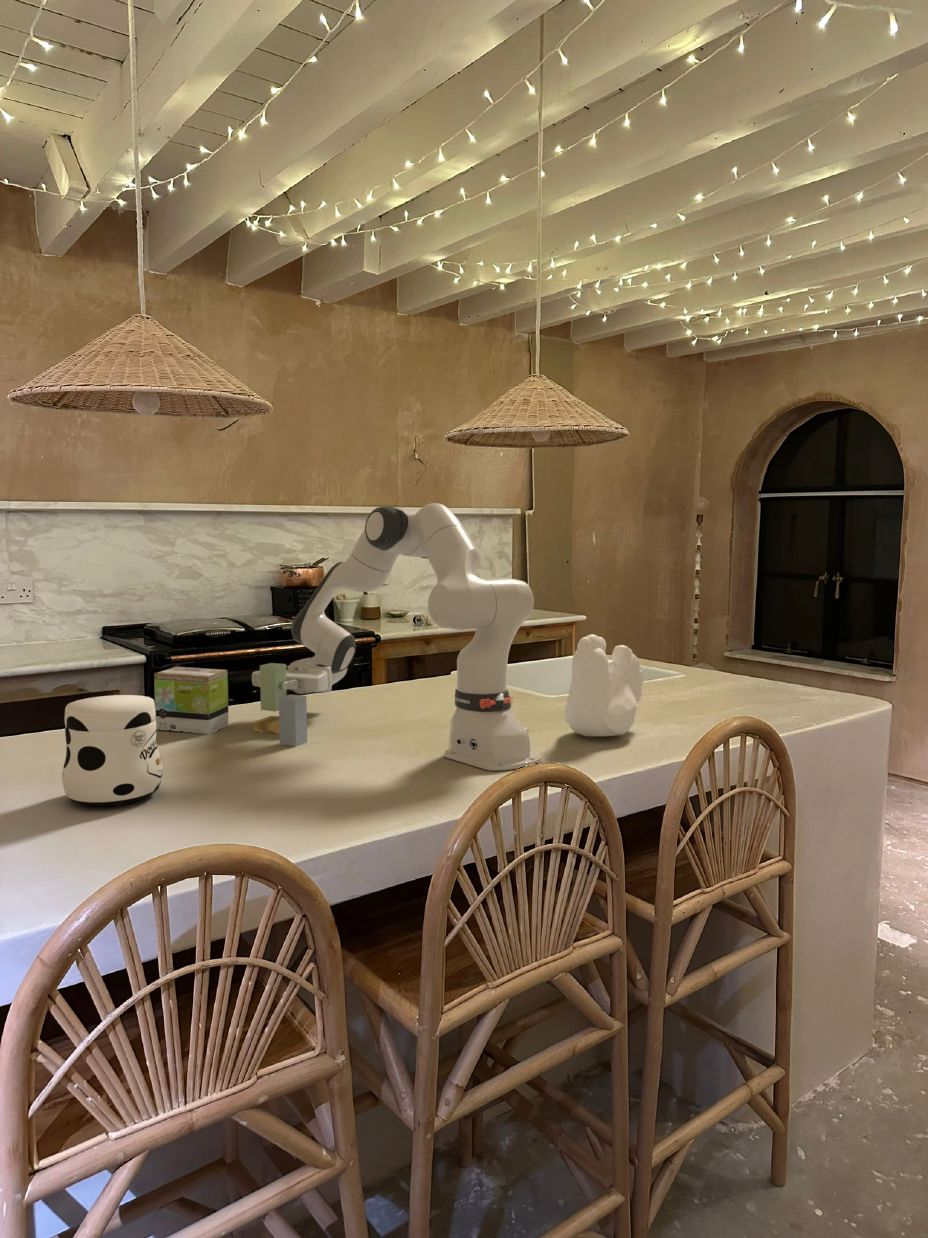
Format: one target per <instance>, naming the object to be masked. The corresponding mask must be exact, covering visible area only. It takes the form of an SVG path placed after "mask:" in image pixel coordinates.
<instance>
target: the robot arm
mask: <svg viewBox="0 0 928 1238" xmlns="http://www.w3.org/2000/svg"><path fill="white" fill-rule="evenodd" d="M365 521H366V522H365V526H364V529H363V530H362V532H361V533H360V536H359V537H358V539H357V541H356V543H355V545H354V547H353V549H352V551H351V553H350V555H349V557H348V558H347V559H346V560H344V561H338V562H337V563H335V564H334V565H333V566H332V567H331V568H329V570H328V571H327V573H325V575H324V577H323V578H322V580H321V581H320V583H319V584H318V586H317V587H316V588H315V590H314V592H313V593H312V595H311V596H310V598H309V599H308V600H307V602H306V604H305V605H304V607H303V608H302V609H301V610H300V611H299V612H298V614H296V615H295V617H294V618H293V620H292V622H291V625H290V626H291V627H290V629H291V636H292V639H293V641H294V642H297V643H298V644H300V645H302V646H303V647H305V648H307V649H309V650H310V651H311V652H313V653H314V655H313V656H312V657H306V658H302V659H298V660H294V661H292V662H291V663H290V664H289V665H288V667H287V668H286V682H280V683H279V689H280V690H290V691H291V690H292V691H293V692H294V693H296V694H297V695H305V694H308V693H309V694H311V693H324V692H325V693H328V692H331V691H332V686H333V685H334V684H336V683H338V682H339V681H340V680H342V678H344V677H345V676H346V674H347V671H348V667H349V666H350V665H351V663H352V661H353V660H354V658H355V655H356V653H357V651H356V649H357V647H356V646H357V645H356V644H357V643H356V638H355V636H354V635H353V634H351V633H350V632H349V631H348V630H346V629H344V628H343V627H342V626H340V625H339V624H337V623H335V622H334V621H333V620H331V618H328V617H327V615H326V614H325V613H326V612H325V610H326V608H327V607H328V605H329V604H330V603H331V601H332V600H333V598H334V597H335V595H336V593H337V592H338V591H339V590H340V589H343V590H349V591H354V592H361V593H367V592H372V591H376V590H378V589H380V588H381V587H382V586H383V585H384V584H385V582H387V580H388V578H389V576H390V574H391V572H392V569H393V567H394V565H395V562H396V560H397V558H398V556H399V555H402V556H407V557H414V558H422V559H427V560H428V562H429V564H430V566H431V567H432V569H433V571H434V573H435V576H436V581H437V582H436V584H435V586H433V588H432V589H431V591H430V593H429V595H428V600H427V610H428V614H429V616H430V618H431V620H432V621H433V623H434V624H435V625H436V626H437V627H439V628H442V629H449V630H456V631H462V630H463V631H464V630H465V631H466V630H473V629H474V630H475V629H476V630H475V634H474V635H473V638H472V639H471V641H470V642H469V643H468V644H467V645H466V646H465V647H464V648H462V649H461V650H460V652H459V653H458V655H457V659H456V688H455V691H454V706H455V707H456V709H455V711H454V714H453V716H452V717H451V719H450V727H449V736H448V737H449V738H448V739H449V741H448V749H447V750H445V751H444V754H443V755H444V756H443V757H444V758H445V759H450V760H452V761H453V760H454V761H457V762H460V763H462V764H463V763H464V764H466V765H470V766H474V767H477V768H479V769H484V770H486V771H509V770H516V769H521V768H520V767H522V766H526V765H531V764H534V763H538V764H540V763H541V762H542V757H541V756H540V755H538V754H536V753H535V752H534V751H532V750H531V740H530V735H529V729H528V728H527V727H526V726H524V725H523V724H522V723H521V721H520V720H519V718H518V716H517V715H516V714H515V713H514V712H513V710H512V703H514V701H513V699H514V697H513V696H510V693H509V689H507V683H508V682H507V681H508V680H507V679H508V678H507V677H508V658H509V653H510V649H511V645H512V643H513V642H514V641H513V640H514V638H515V636H516V635H517V632H518V631H519V629H520V627H522V625H523V624H524V623H525V622H527V620H528V619H529V618H530V616H531V615H532V612H533V610H534V605H535V598H534V597H535V596H534V594H533V591H532V589H531V587H530V585H528V583H527V582H525V581H524V580H520V579H515V578H512V577H484V578H483V577H478V576H477V575H475V574H476V572H477V571H478V569H479V567H480V564H481V553H480V550H479V548H478V547H477V546H476V544H475V542H474V541H473V539H472V537H471V536H470V534H469V532H468V531H467V530H466V528H465V527H464V525H463V523H462V522H461V521H460V520H459V518H458V517H457V516H456V515H455V513H454V512H452V511H451V510H450V509H449V508H448V507H447V506H445V505H444V504H442V503H438V502H431V503H428V504H425V505H424V506H422V507H421V508H420V509H419V510H418V511H415V510H411V509H406V508H397V507H393V506H378V507H376V508H374V509H373V510H371V512H370V513H369V515H368V517H367V519H366V520H365ZM251 682H252V683H251V684H252V686H254V687H259V688H260V670H256V671H253V672H252V673H251Z"/></svg>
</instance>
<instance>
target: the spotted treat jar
mask: <svg viewBox="0 0 928 1238" xmlns="http://www.w3.org/2000/svg"><path fill="white" fill-rule="evenodd" d="M155 716H156V711H155V699H153V698H151V696H145V695H135V694H121V695H120V694H113V695H104V696H102V695H101V696H93V697H88V698H87V697H86V698H84V699H77V700H75V701H72V702H69V703H67V705H66V706H65V708H64V725H65V728H64V734H65V743H66V745H65V747H66V748H65V749H66V752H65V753H66V755H65V759H64V763H63V766H62V767H63V768H62V771H61V772H62V773H61V774H62V775H61V779H62V787H63V790H64V793H65V795H66V797H68V799H69V800H70V801H72V802H74V803H76V804H79V805H82V806H83V805H84V806H94V807H95V806H96V807H100V806H102V807H103V806H108V807H109V806H116V805H123V804H127V803H132V802H137V801H140V800H142V799H144V798H145V799H146V798H147V797H149V796H151V795H152V794H154V793H155V792H157V790H159V788H160V786H161V785H162V782H163V781H162V780H163V773H164V770H163V769H164V767H163V761H162V758H161V754H160V751H159V748H158V744H157V743H158V741H157V730H156V718H155Z"/></svg>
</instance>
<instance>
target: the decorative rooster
mask: <svg viewBox="0 0 928 1238" xmlns="http://www.w3.org/2000/svg"><path fill="white" fill-rule="evenodd" d="M606 650H607V642H606V639H605V638H603V637H601V636H598V635H597V634H592V633H591V634H589V635H586V636H584V637H582V638H580V639H579V641H578V643H577V649H576V650H575V651H574V653H573V656H572V660H571V684H570V688H569V693H568V696H567V699H566V705H565V709H564V713H563V715H564V719H565V722H566V723H567V725H569V728H570V729H571V730H572V731H573V732H574V733H577V734H579V735H581V736H584V737H613V736H622V735H624V734H625V733H628V732H629V730H630V729H631V728H632V726H633V724H634V722H635V718H636V714H637V704H638V702H639V701H640V700H641V699H642V695H643V692H642V691H643V688H642V686H643V685H644V673H643V671H642V670H641V663H640V660H639V657H637V655H636V654H634V653H633V650H632V649H631V648H629V646H627V645H623V644H620V645H616V646H615V647H614V648H613V649H612V654H611V659H608V655H607V654H606Z"/></svg>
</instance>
